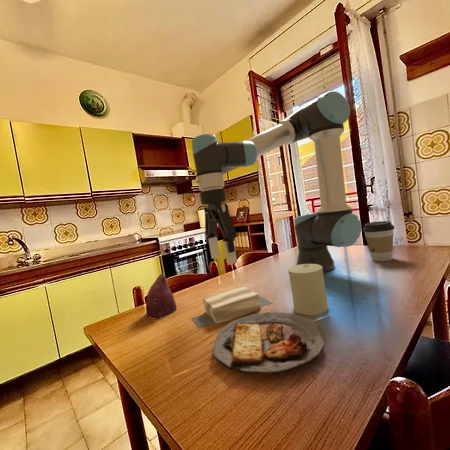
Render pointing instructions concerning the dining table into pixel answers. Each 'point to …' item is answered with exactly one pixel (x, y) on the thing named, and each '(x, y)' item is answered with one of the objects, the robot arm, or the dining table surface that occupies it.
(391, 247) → the coffee cup
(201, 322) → the mat
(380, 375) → the dining table surface
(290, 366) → the food plate
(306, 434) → the dining table surface
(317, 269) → the can
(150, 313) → the vegetable
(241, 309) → the beige wavy block
